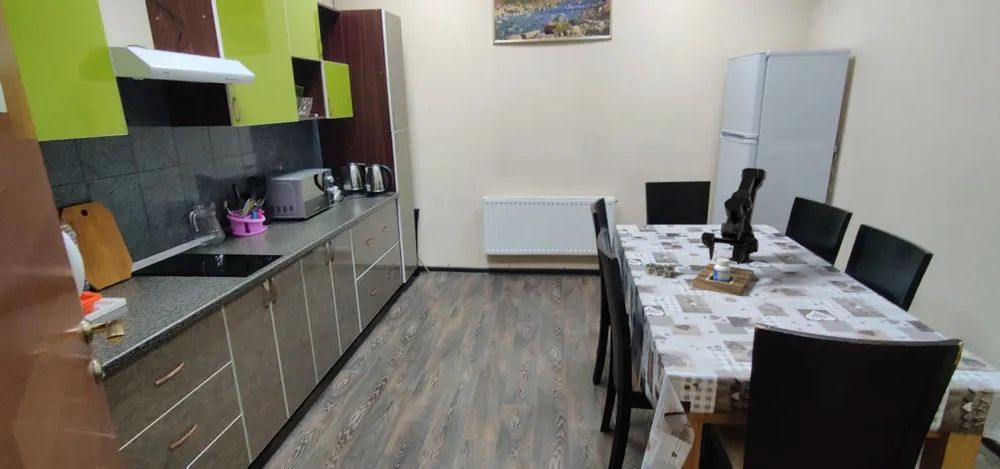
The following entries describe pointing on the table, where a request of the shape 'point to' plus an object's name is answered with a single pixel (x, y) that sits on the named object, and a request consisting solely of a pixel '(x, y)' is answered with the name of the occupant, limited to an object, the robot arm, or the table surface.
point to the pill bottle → (722, 270)
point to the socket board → (734, 287)
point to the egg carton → (660, 270)
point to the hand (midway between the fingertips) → (724, 262)
